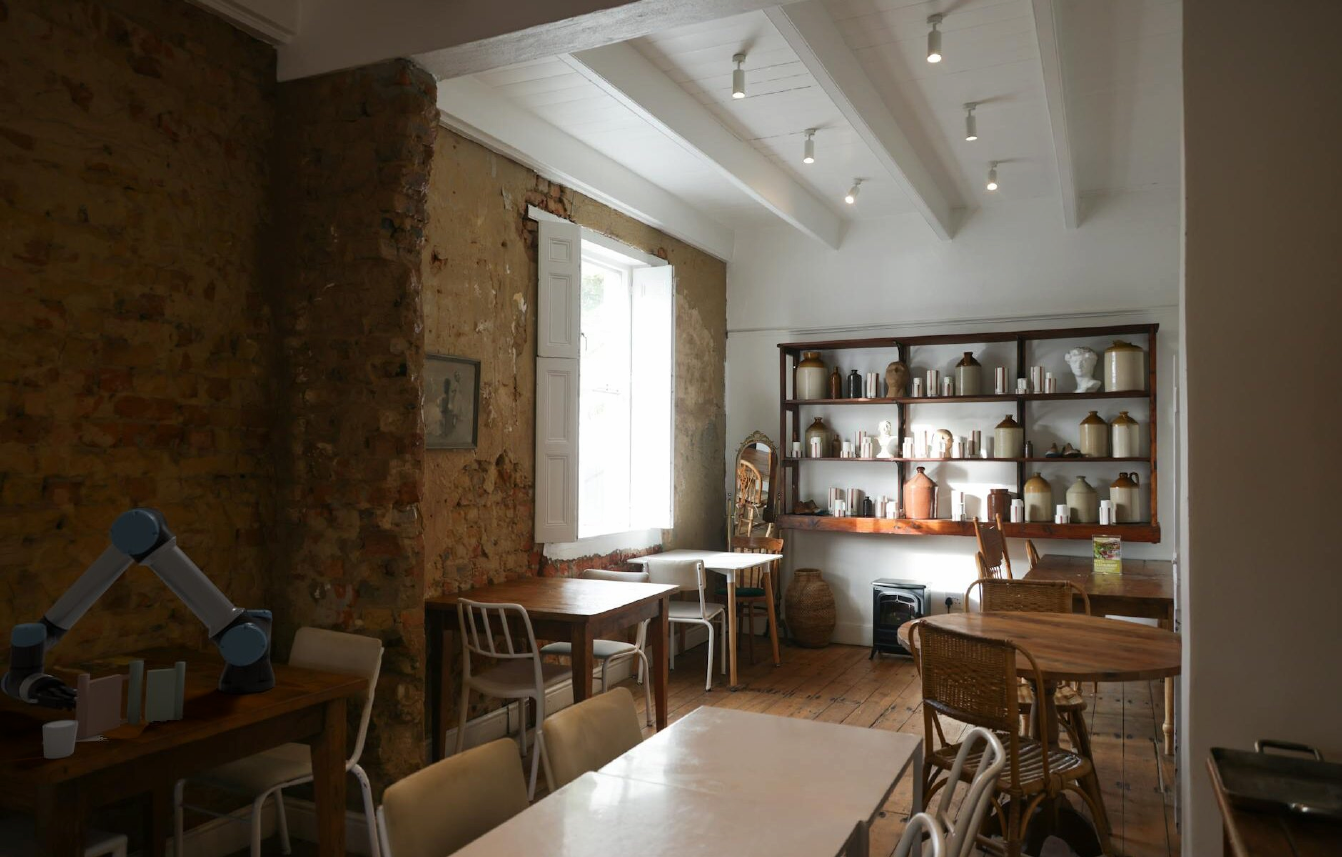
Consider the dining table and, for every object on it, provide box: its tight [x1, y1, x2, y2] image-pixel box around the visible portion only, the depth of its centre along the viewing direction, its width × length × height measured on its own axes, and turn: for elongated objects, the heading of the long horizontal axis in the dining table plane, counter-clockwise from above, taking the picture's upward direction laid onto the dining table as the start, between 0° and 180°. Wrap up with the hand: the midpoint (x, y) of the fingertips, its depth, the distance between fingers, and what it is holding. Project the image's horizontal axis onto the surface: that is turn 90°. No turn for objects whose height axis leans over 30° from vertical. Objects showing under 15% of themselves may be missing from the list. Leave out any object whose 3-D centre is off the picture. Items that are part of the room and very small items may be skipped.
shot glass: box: [42, 719, 78, 760], centre depth 203 cm, size 7×7×7 cm
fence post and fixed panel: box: [126, 659, 186, 724], centre depth 228 cm, size 12×3×16 cm, turn 118°
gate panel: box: [74, 673, 131, 739], centre depth 218 cm, size 13×2×15 cm, turn 160°
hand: (90, 707), depth 216 cm, fingers closed
